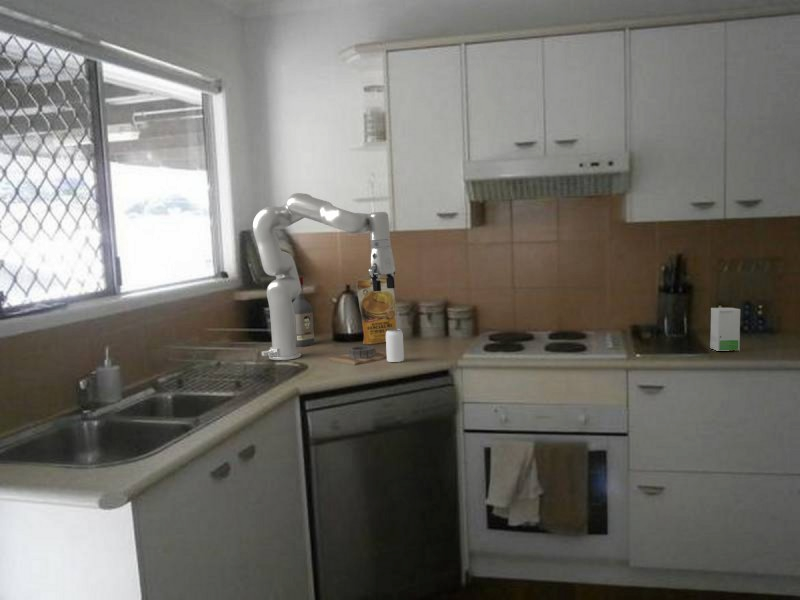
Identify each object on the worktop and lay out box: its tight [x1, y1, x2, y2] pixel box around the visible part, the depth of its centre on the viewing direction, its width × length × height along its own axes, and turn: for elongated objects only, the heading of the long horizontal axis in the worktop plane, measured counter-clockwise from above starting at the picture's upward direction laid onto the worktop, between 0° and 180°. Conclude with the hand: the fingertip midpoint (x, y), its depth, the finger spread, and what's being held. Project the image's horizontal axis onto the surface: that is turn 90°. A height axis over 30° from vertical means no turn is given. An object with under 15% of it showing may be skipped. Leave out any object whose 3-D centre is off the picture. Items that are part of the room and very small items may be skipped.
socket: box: [328, 345, 387, 366], centre depth 264 cm, size 20×16×4 cm
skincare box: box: [709, 307, 741, 352], centre depth 248 cm, size 8×7×16 cm
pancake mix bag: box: [355, 277, 397, 345], centre depth 296 cm, size 7×19×28 cm, turn 116°
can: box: [385, 328, 405, 363], centre depth 255 cm, size 6×6×12 cm
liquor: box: [292, 276, 315, 348], centre depth 298 cm, size 9×9×30 cm
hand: (384, 289), depth 259 cm, fingers open, 9 cm apart
